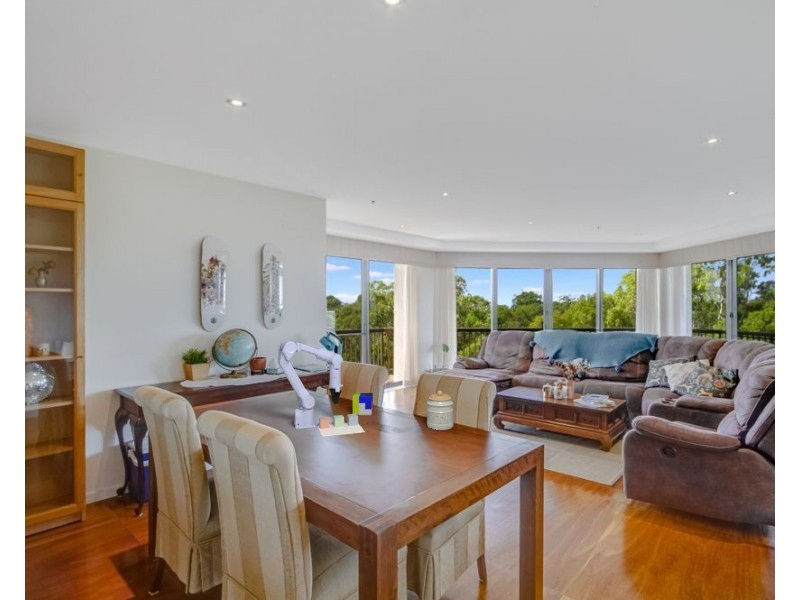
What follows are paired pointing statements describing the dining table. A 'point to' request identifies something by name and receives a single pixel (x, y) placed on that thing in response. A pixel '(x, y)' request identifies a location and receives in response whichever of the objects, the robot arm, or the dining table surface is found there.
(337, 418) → the sage block
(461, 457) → the dining table surface
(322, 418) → the terracotta block
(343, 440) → the dining table surface
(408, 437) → the dining table surface
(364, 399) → the puzzle toy
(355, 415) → the slate block
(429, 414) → the jar
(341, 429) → the mat
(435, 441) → the dining table surface
